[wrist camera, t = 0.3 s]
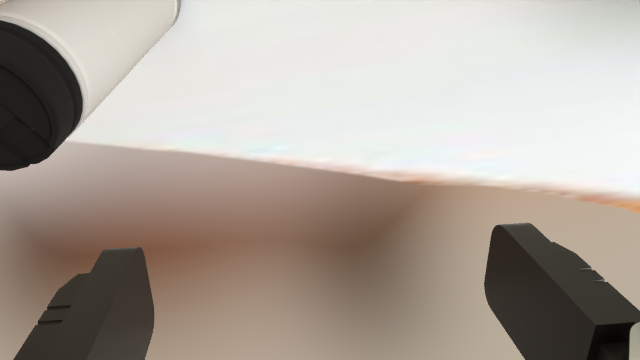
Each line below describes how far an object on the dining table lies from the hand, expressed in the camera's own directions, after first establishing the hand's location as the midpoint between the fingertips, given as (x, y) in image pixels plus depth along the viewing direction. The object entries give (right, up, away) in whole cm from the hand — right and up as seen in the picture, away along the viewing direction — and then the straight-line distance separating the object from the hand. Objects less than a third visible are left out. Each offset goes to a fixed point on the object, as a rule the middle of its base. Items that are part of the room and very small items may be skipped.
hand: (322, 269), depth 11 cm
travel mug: (-14, +16, +25) cm, 33 cm away
